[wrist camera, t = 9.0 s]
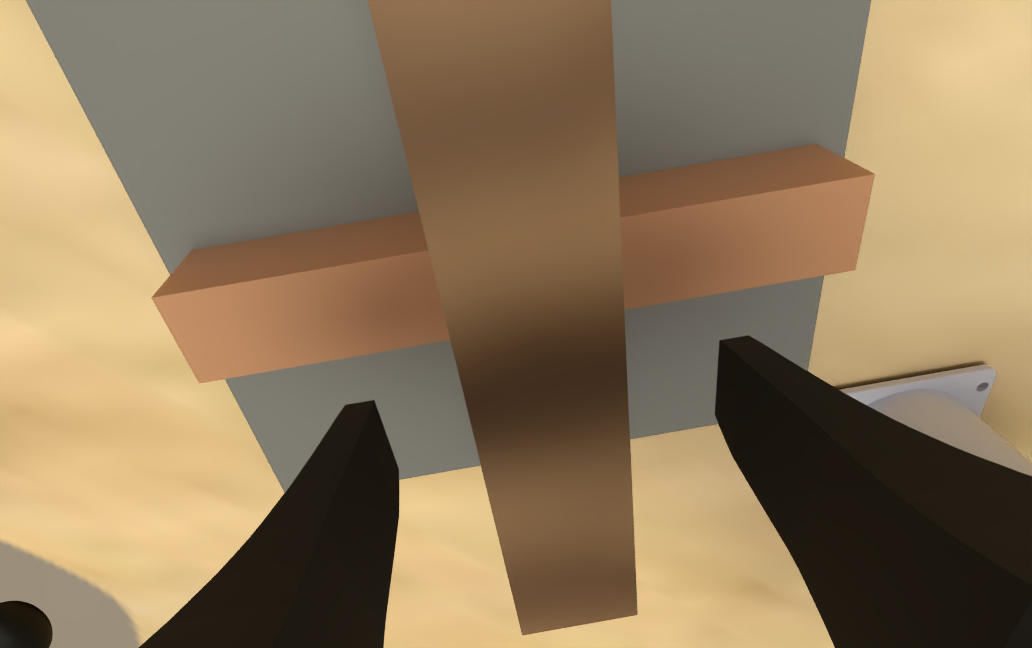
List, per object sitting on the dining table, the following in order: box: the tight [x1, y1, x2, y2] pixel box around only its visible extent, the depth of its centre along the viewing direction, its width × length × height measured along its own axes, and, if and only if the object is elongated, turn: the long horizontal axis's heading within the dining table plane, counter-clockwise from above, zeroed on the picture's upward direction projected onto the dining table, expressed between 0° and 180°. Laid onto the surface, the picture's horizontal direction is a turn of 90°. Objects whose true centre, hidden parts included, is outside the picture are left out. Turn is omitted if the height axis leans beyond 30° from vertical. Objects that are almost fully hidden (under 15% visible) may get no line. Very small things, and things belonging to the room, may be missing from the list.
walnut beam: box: [368, 0, 637, 635], centre depth 15 cm, size 18×4×5 cm, turn 8°
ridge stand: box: [26, 0, 875, 492], centre depth 18 cm, size 20×22×4 cm
